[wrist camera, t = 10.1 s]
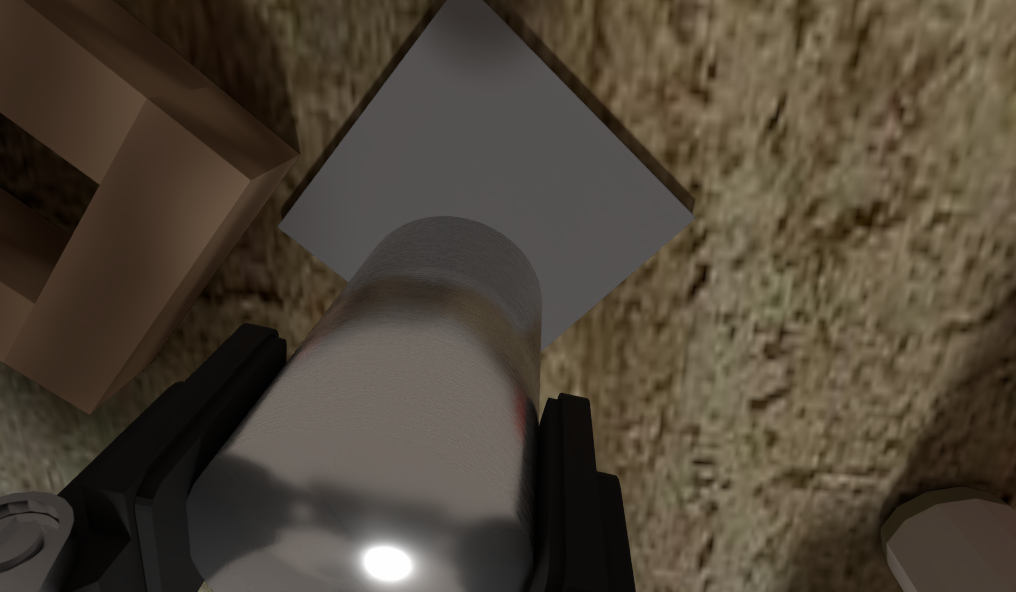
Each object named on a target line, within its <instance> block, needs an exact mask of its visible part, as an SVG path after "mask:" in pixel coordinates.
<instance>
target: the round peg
mask: <svg viewBox="0 0 1016 592" xmlns="http://www.w3.org/2000/svg"><path fill="white" fill-rule="evenodd" d="M541 332H542V293H541V288H540V284H539V280H538V278H537V275H536V273H535V270H534V269H533V267H532V265H531V263H530V262H529V260H528V259H527V257H526V256H525V255H524V253H523V252H522V251H521V250H520V249H519V248H518V247H517V246H516V245H515V244H514V243H513V242H512V241H511V240H510V239H508V238H507V237H506V236H505V235H503V234H502V233H500V232H498V231H497V230H495V229H493V228H492V227H489V226H487V225H485V224H483V223H480V222H477V221H474V220H470V219H467V218H461V217H455V216H435V217H427V218H422V219H418V220H415V221H412V222H409V223H407V224H404V225H402V226H401V227H399V228H397V229H395V230H394V231H392V232H391V233H390V234H388V235H387V236H386V237H385V238H384V239H383V240H382V241H381V242H380V243H379V244H378V245H377V246H376V247H375V249H374V250H373V251H372V253H371V254H370V255H369V256H368V258H367V259H366V260H365V262H364V263H363V264H362V266H361V267H360V268H359V269H358V271H357V272H356V273H355V275H354V276H353V277H352V279H351V280H350V281H349V282H348V284H347V285H346V286H345V288H344V289H343V290H342V292H341V293H340V294H339V295H338V297H337V298H336V299H335V301H334V302H333V303H332V305H331V306H330V307H329V309H328V310H327V311H326V312H325V314H324V315H323V316H322V318H321V319H320V320H319V322H318V323H317V324H316V325H315V327H314V328H313V329H312V331H311V332H310V333H309V335H308V336H307V337H306V338H305V340H304V341H303V342H302V344H301V345H300V346H299V348H298V349H297V350H296V351H295V353H294V354H293V355H292V357H291V358H290V359H289V361H288V362H287V363H286V364H285V366H284V367H283V368H282V370H281V371H280V372H279V374H278V375H277V376H276V377H275V379H274V380H273V381H272V383H271V384H270V385H269V387H268V388H267V389H266V390H265V392H264V393H263V394H262V396H261V397H260V398H259V400H258V401H257V402H256V403H255V405H254V406H253V407H252V409H251V410H250V411H249V413H248V414H247V415H246V416H245V418H244V419H243V420H242V422H241V423H240V424H239V426H238V427H237V428H236V429H235V431H234V432H233V433H232V435H231V436H230V437H229V439H228V440H227V441H226V442H225V444H224V445H223V446H222V448H221V449H220V450H219V452H218V453H217V454H216V455H215V457H214V458H213V459H212V461H211V462H210V463H209V465H208V466H207V467H206V468H205V470H204V471H203V472H202V474H201V475H200V477H199V478H198V479H197V481H196V482H195V483H194V485H193V487H192V489H191V492H190V494H189V496H188V498H187V502H186V508H187V520H188V531H189V542H190V553H191V558H192V560H193V562H194V564H195V566H196V567H197V569H198V571H199V573H200V575H201V576H202V577H203V579H204V580H205V581H206V583H207V584H208V585H209V587H210V588H211V589H212V590H213V591H214V592H528V591H529V588H530V585H531V583H532V580H533V577H534V564H535V531H536V498H537V465H538V432H539V399H540V365H541Z"/></svg>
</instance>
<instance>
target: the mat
mask: <svg viewBox="0 0 1016 592" xmlns="http://www.w3.org/2000/svg"><path fill="white" fill-rule="evenodd" d="M435 216H455V217H461V218H467V219H470V220H474V221H477V222H480V223H483V224H485V225H487V226H489V227H492V228H493V229H495V230H497V231H498V232H500V233H502V234H503V235H505V236H506V237H507V238H508V239H510V240H511V241H512V242H513V243H514V244H515V245H516V246H517V247H518V248H519V249H520V250H521V251H522V252H523V253H524V255H525V256H526V257H527V259H528V260H529V262H530V263H531V265H532V267H533V269H534V270H535V273H536V275H537V278H538V280H539V284H540V288H541V293H542V332H541V351H542V350H544V349H545V348H546V347H547V346H548V345H549V344H551V343H552V342H553V341H554V340H555V339H556V338H557V337H559V336H560V335H561V334H562V333H563V332H564V331H566V330H567V329H568V328H569V327H570V326H571V325H572V324H574V323H575V322H576V321H577V320H578V319H579V318H581V317H582V316H583V315H584V314H585V313H586V312H588V311H589V310H590V309H591V308H592V307H593V306H594V305H596V304H597V303H598V302H599V301H600V300H601V299H603V298H604V297H605V296H606V295H607V294H608V293H609V292H611V291H612V290H613V289H614V288H615V287H616V286H618V285H619V284H620V283H621V282H622V281H623V280H624V279H626V278H627V277H628V276H629V275H630V274H631V273H633V272H634V271H635V270H636V269H637V268H638V267H640V266H641V265H642V264H643V263H644V262H645V261H646V260H648V259H649V258H650V257H651V256H652V255H653V254H655V253H656V252H657V251H658V250H659V249H660V248H661V247H663V246H664V245H665V244H666V243H667V242H668V241H670V240H671V239H672V238H673V237H674V236H675V235H677V234H678V233H679V232H680V231H681V230H682V229H683V228H685V227H686V226H687V225H688V224H689V223H690V222H692V221H693V220H694V219H695V216H694V215H693V214H692V213H691V212H690V211H689V210H688V209H687V208H686V207H685V206H684V205H683V204H682V203H681V202H680V200H679V199H678V198H677V197H676V196H675V195H674V194H673V193H672V192H671V191H670V190H669V189H668V188H667V187H666V186H665V185H664V184H663V183H662V182H661V181H660V180H659V179H658V178H657V177H656V176H655V175H654V174H653V173H652V172H651V171H650V170H649V169H648V168H647V167H646V166H645V165H644V164H643V163H642V162H641V161H640V160H639V159H638V158H637V157H636V155H635V154H634V153H633V152H632V151H631V150H630V149H629V148H628V147H627V146H626V145H625V144H624V143H623V142H622V141H621V140H620V139H619V138H618V137H617V136H616V135H615V134H614V133H613V132H612V131H611V130H610V129H609V128H608V127H607V126H606V125H605V124H604V123H603V122H602V121H601V120H600V119H599V118H598V117H597V116H596V115H595V114H594V113H593V112H592V110H591V109H590V108H589V107H588V106H587V105H586V104H585V103H584V102H583V101H582V100H581V99H580V98H579V97H578V96H577V95H576V94H575V93H574V92H573V91H572V90H571V89H570V88H569V87H568V86H567V85H566V84H565V83H564V82H563V81H562V80H561V79H560V78H559V77H558V76H557V75H556V74H555V73H554V72H553V71H552V70H551V69H550V68H549V67H548V65H547V64H546V63H545V62H544V61H543V60H542V59H541V58H540V57H539V56H538V55H537V54H536V53H535V52H534V51H533V50H532V49H531V48H530V47H529V46H528V45H527V44H526V43H525V42H524V41H523V40H522V39H521V38H520V37H519V36H518V35H517V34H516V33H515V32H514V31H513V30H512V29H511V28H510V27H509V26H508V25H507V24H506V23H505V22H504V20H503V19H502V18H501V17H500V16H499V15H498V14H497V13H496V12H495V11H494V10H493V9H492V8H491V7H490V6H489V5H488V4H487V3H486V2H485V1H484V0H446V2H445V3H444V4H443V6H442V7H441V8H440V10H439V11H438V12H437V14H436V15H435V16H434V18H433V19H432V20H431V22H430V23H429V24H428V26H427V27H426V29H425V30H424V31H423V33H422V34H421V35H420V37H419V38H418V39H417V41H416V42H415V43H414V45H413V46H412V47H411V49H410V50H409V51H408V53H407V54H406V55H405V57H404V58H403V59H402V61H401V62H400V63H399V65H398V66H397V67H396V69H395V70H394V71H393V73H392V74H391V75H390V77H389V78H388V79H387V81H386V82H385V83H384V85H383V86H382V87H381V89H380V90H379V92H378V93H377V94H376V96H375V97H374V98H373V100H372V101H371V102H370V104H369V105H368V106H367V108H366V109H365V110H364V112H363V113H362V114H361V116H360V117H359V118H358V120H357V121H356V122H355V124H354V125H353V126H352V128H351V129H350V130H349V132H348V133H347V134H346V136H345V137H344V138H343V140H342V141H341V142H340V144H339V145H338V146H337V148H336V149H335V150H334V152H333V153H332V154H331V156H330V157H329V159H328V160H327V161H326V163H325V164H324V165H323V167H322V168H321V169H320V171H319V172H318V173H317V175H316V176H315V177H314V179H313V180H312V181H311V183H310V184H309V185H308V187H307V188H306V189H305V191H304V192H303V193H302V195H301V196H300V197H299V199H298V200H297V201H296V203H295V204H294V205H293V207H292V208H291V209H290V211H289V212H288V213H287V215H286V216H285V217H284V219H283V220H282V222H281V223H280V224H279V226H278V228H279V229H280V230H282V231H283V232H284V233H286V234H287V235H288V236H289V237H291V238H292V239H293V240H295V241H296V242H297V243H299V244H300V245H301V246H302V247H304V248H305V249H306V250H308V251H309V252H310V253H311V254H313V255H314V256H315V257H317V258H318V259H319V260H320V261H322V262H323V263H324V264H326V265H327V266H328V267H329V268H331V269H332V270H333V271H335V272H336V273H337V274H338V275H340V276H341V277H342V278H344V279H345V280H346V281H347V282H349V281H350V280H351V279H352V277H353V276H354V275H355V273H356V272H357V271H358V269H359V268H360V267H361V266H362V264H363V263H364V262H365V260H366V259H367V258H368V256H369V255H370V254H371V253H372V251H373V250H374V249H375V247H376V246H377V245H378V244H379V243H380V242H381V241H382V240H383V239H384V238H385V237H386V236H387V235H388V234H390V233H391V232H392V231H394V230H395V229H397V228H399V227H401V226H402V225H404V224H407V223H409V222H412V221H415V220H418V219H422V218H427V217H435Z"/></svg>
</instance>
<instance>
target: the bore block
mask: <svg viewBox="0 0 1016 592" xmlns="http://www.w3.org/2000/svg"><path fill="white" fill-rule="evenodd" d="M0 113H2V114H3V115H4V116H6V117H7V118H8V119H10V120H11V121H13V122H14V123H15V124H17V125H18V126H19V127H21V128H22V129H24V130H25V131H26V132H28V133H29V134H30V135H32V136H33V137H35V138H36V139H37V140H39V141H40V142H41V143H43V144H44V145H46V146H47V147H48V148H50V149H51V150H52V151H54V152H55V153H57V154H58V155H59V156H61V157H62V158H63V159H65V160H66V161H68V162H69V163H70V164H72V165H73V166H74V167H76V168H77V169H79V170H80V171H81V172H83V173H84V174H85V175H87V176H88V177H90V178H91V179H92V180H94V181H95V182H96V183H98V184H99V187H98V189H97V191H96V193H95V194H94V196H93V198H92V200H91V202H90V204H89V205H88V207H87V209H86V211H85V213H84V215H83V216H82V218H81V220H80V222H79V224H78V226H77V227H76V229H75V231H74V233H73V235H72V236H70V235H69V234H67V233H66V232H64V231H63V230H62V229H60V228H59V227H57V226H56V225H54V224H53V223H51V222H50V221H49V220H47V219H46V218H44V217H43V216H41V215H40V214H38V213H37V212H36V211H34V210H33V209H31V208H30V207H28V206H27V205H25V204H24V203H22V202H21V201H20V200H18V199H17V198H15V197H14V196H12V195H11V194H9V193H8V192H7V191H5V190H4V189H2V188H1V187H0V361H1V362H3V363H4V364H6V365H8V366H9V367H11V368H13V369H14V370H16V371H18V372H19V373H21V374H22V375H24V376H26V377H27V378H29V379H31V380H32V381H34V382H36V383H37V384H39V385H41V386H42V387H44V388H46V389H47V390H49V391H51V392H52V393H54V394H55V395H57V396H59V397H60V398H62V399H64V400H65V401H67V402H69V403H70V404H72V405H74V406H75V407H77V408H79V409H80V410H82V411H84V412H85V413H87V414H88V415H90V414H91V413H93V412H94V411H95V410H96V409H97V408H99V407H100V406H101V405H102V404H103V403H104V402H106V401H107V400H108V399H109V398H110V397H112V396H113V395H114V394H115V393H116V392H117V391H119V390H120V389H121V388H122V387H123V386H124V385H126V384H127V383H128V382H129V381H130V380H132V379H133V378H134V377H135V376H136V375H137V374H139V373H140V372H141V371H142V370H143V369H144V368H146V367H147V366H148V365H149V364H150V363H151V362H152V361H153V359H154V358H155V357H156V355H157V354H158V352H159V351H160V350H161V348H162V347H163V345H164V344H165V343H166V341H167V340H168V339H169V337H170V336H171V334H172V333H173V332H174V330H175V329H176V327H177V326H178V325H179V323H180V322H181V320H182V319H183V318H184V316H185V315H186V313H187V312H188V311H189V309H190V308H191V306H192V305H193V304H194V302H195V301H196V299H197V298H198V297H199V295H200V294H201V292H202V291H203V290H204V288H205V287H206V286H207V284H208V283H209V281H210V280H211V279H212V277H213V276H214V274H215V273H216V272H217V270H218V269H219V267H220V266H221V265H222V263H223V262H224V260H225V259H226V258H227V256H228V255H229V253H230V252H231V251H232V249H233V248H234V246H235V245H236V244H237V242H238V241H239V239H240V238H241V237H242V235H243V234H244V233H245V231H246V230H247V228H248V227H249V226H250V224H251V223H252V221H253V220H254V219H255V217H256V216H257V214H258V213H259V212H260V210H261V209H262V207H263V206H264V205H265V203H266V202H267V200H268V199H269V198H270V196H271V195H272V193H273V192H274V191H275V189H276V188H277V186H278V185H279V184H280V182H281V181H282V180H283V178H284V177H285V175H286V174H287V173H288V171H289V170H290V168H291V167H292V166H293V164H294V163H295V161H296V160H297V159H298V157H299V156H300V154H299V153H298V152H297V151H295V150H294V149H293V148H292V147H290V146H289V145H288V144H287V143H286V142H284V141H283V140H282V139H281V138H280V137H278V136H277V135H276V134H275V133H274V132H272V131H271V130H270V129H269V128H268V127H266V126H265V125H264V124H263V123H261V122H260V121H259V120H258V119H257V118H255V117H254V116H253V115H252V114H251V113H249V112H248V111H247V110H246V109H245V108H243V107H242V106H241V105H240V104H239V103H237V102H236V101H235V100H234V99H232V98H231V97H230V96H229V95H228V94H226V93H225V92H224V91H223V90H222V89H220V88H219V87H218V86H217V85H216V84H214V83H213V82H212V81H211V80H210V79H208V78H207V77H206V76H205V75H203V74H202V73H201V72H200V71H199V70H197V69H196V68H195V67H194V66H193V65H191V64H190V63H189V62H188V61H187V60H185V59H184V58H183V57H182V56H181V55H179V54H178V53H177V52H176V51H174V50H173V49H172V48H171V47H170V46H168V45H167V44H166V43H165V42H164V41H162V40H161V39H160V38H159V37H158V36H156V35H155V34H154V33H153V32H152V31H150V30H149V29H148V28H147V27H145V26H144V25H143V24H142V23H141V22H139V21H138V20H137V19H136V18H135V17H133V16H132V15H131V14H130V13H129V12H127V11H126V10H125V9H124V8H123V7H121V6H120V5H119V4H118V3H116V2H115V1H114V0H0Z"/></svg>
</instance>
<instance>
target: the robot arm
mask: <svg viewBox="0 0 1016 592" xmlns="http://www.w3.org/2000/svg"><path fill="white" fill-rule="evenodd" d="M286 351H287V344H286V340H285V339H282V338H279V334H278V332H277V330H275V329H272V328H267V327H263V326H258V325H254V324H249V323H244V324H243V325H241V326H240V327H239V328H238V329H237V330H236V331H235V332H234V333H233V334H232V335H231V336H230V337H229V338H228V339H227V340H226V341H225V342H224V343H223V344H222V345H221V346H220V347H219V348H218V349H217V350H216V351H215V352H214V353H213V354H212V355H211V356H210V357H209V358H208V359H207V360H206V361H205V362H204V363H203V364H202V365H201V366H200V367H199V368H198V369H197V370H196V371H195V372H194V373H193V374H192V375H191V376H190V377H189V378H188V379H187V380H186V381H185V382H183V381H180V382H177V383H174V384H173V385H172V386H170V387H169V388H168V389H167V390H166V391H165V392H164V393H163V394H161V395H160V396H159V397H158V398H157V399H156V400H155V401H154V402H153V403H152V404H151V405H150V406H149V407H148V408H147V409H146V410H145V411H144V412H143V413H142V414H141V415H140V416H139V417H138V418H137V419H136V420H135V421H133V422H132V423H131V424H130V425H129V426H128V427H127V428H126V429H125V430H124V431H123V432H122V433H121V434H120V435H119V436H118V437H117V438H116V439H115V440H114V441H113V442H112V443H111V444H110V445H109V446H108V447H107V448H106V449H104V450H103V451H102V452H101V453H100V454H99V455H98V456H97V457H96V458H95V459H94V460H93V461H92V462H91V463H90V464H89V465H88V466H87V467H86V468H85V469H84V470H83V471H82V472H81V473H80V474H79V475H78V476H76V477H75V478H74V479H73V480H72V481H71V482H70V483H69V484H68V485H67V486H66V487H65V488H64V489H63V490H62V491H61V492H60V493H59V494H58V495H57V496H56V495H54V494H52V493H45V492H35V491H32V492H23V493H14V494H9V495H6V496H2V497H0V592H198V590H199V588H200V587H201V585H202V584H203V582H204V579H203V577H202V576H201V575H200V573H199V571H198V569H197V567H196V566H195V564H194V562H193V560H192V558H191V553H190V542H189V531H188V520H187V508H186V502H187V498H188V496H189V494H190V492H191V489H192V487H193V485H194V483H195V482H196V481H197V479H198V478H199V477H200V475H201V474H202V472H203V471H204V470H205V468H206V467H207V466H208V465H209V463H210V462H211V461H212V459H213V458H214V457H215V455H216V454H217V453H218V452H219V450H220V449H221V448H222V446H223V445H224V444H225V442H226V441H227V440H228V439H229V437H230V436H231V435H232V433H233V432H234V431H235V429H236V428H237V427H238V426H239V424H240V423H241V422H242V420H243V419H244V418H245V416H246V415H247V414H248V413H249V411H250V410H251V409H252V407H253V406H254V405H255V403H256V402H257V401H258V400H259V398H260V397H261V396H262V394H263V393H264V392H265V390H266V389H267V388H268V387H269V385H270V384H271V383H272V381H273V380H274V379H275V377H276V376H277V375H278V374H279V372H280V371H281V370H282V368H283V367H284V366H285V364H286ZM528 592H636V589H635V583H634V576H633V569H632V562H631V555H630V548H629V542H628V535H627V528H626V521H625V514H624V508H623V501H622V494H621V487H620V483H619V479H618V478H617V476H616V475H612V474H607V473H602V472H598V471H597V470H596V460H595V450H594V440H593V430H592V420H591V410H590V402H589V399H588V398H583V397H579V396H574V395H570V394H565V393H560V394H559V396H558V399H553V398H548V400H547V402H546V405H545V408H544V411H543V415H542V418H541V421H540V424H539V432H538V465H537V498H536V531H535V564H534V577H533V580H532V583H531V585H530V588H529V591H528Z"/></svg>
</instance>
